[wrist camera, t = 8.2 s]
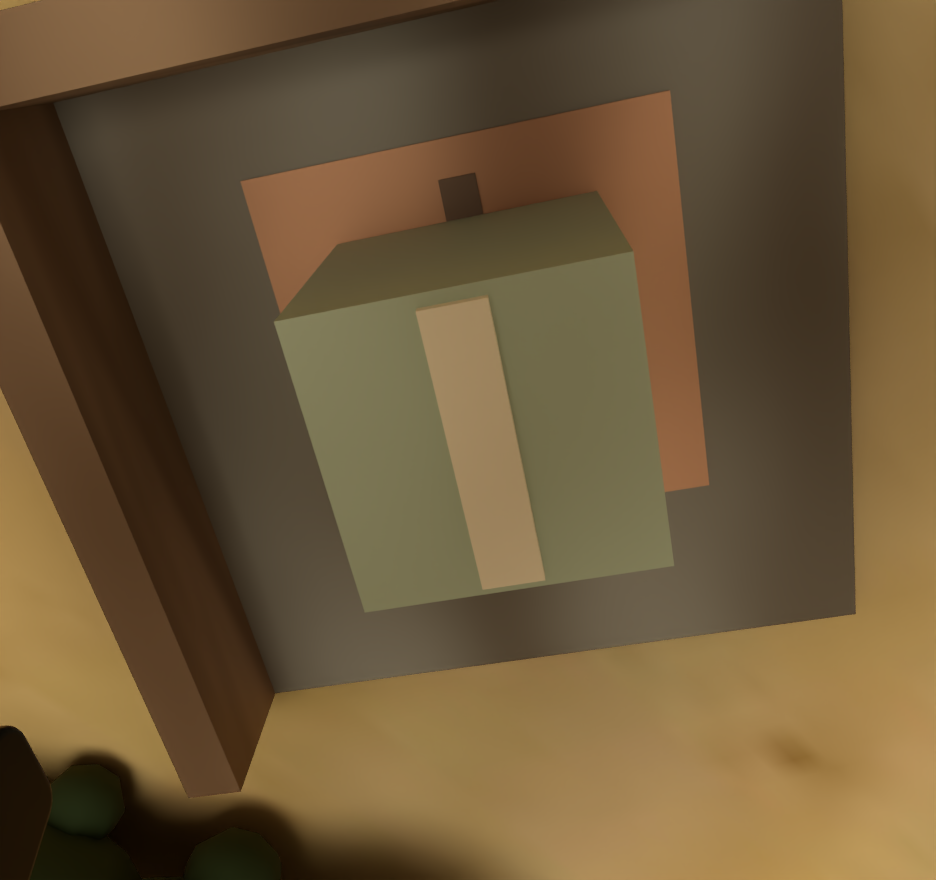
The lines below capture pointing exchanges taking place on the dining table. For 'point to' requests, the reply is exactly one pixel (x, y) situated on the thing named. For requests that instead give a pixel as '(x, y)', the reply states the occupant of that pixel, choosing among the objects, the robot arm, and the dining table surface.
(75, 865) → the toy figurine
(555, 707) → the dining table surface
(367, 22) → the arena
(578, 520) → the cube
